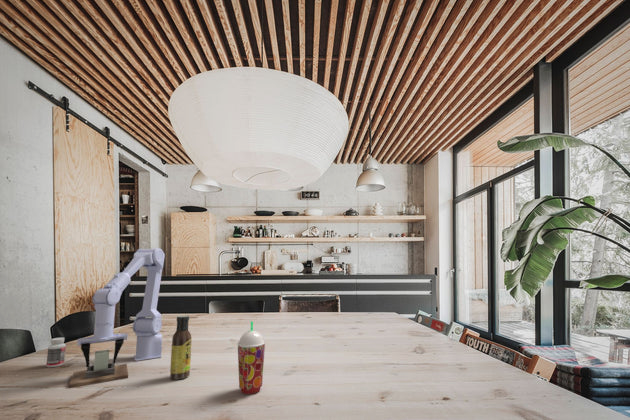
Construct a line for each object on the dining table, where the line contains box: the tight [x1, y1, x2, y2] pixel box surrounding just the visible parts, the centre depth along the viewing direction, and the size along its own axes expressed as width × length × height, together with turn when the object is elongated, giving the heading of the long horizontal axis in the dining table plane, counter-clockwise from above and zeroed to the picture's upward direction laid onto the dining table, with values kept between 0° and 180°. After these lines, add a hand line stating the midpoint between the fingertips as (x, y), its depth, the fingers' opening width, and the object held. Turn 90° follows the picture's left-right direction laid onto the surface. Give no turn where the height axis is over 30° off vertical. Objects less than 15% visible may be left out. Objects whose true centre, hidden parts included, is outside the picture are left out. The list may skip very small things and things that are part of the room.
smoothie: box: [237, 320, 266, 395], centre depth 100 cm, size 8×8×20 cm
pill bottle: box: [46, 337, 67, 368], centre depth 125 cm, size 5×5×10 cm
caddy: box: [68, 361, 129, 389], centre depth 112 cm, size 16×14×3 cm
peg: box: [93, 349, 110, 371], centre depth 112 cm, size 4×4×7 cm
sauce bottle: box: [169, 314, 192, 380], centre depth 112 cm, size 6×6×20 cm
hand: (101, 364), depth 112 cm, fingers open, 7 cm apart
